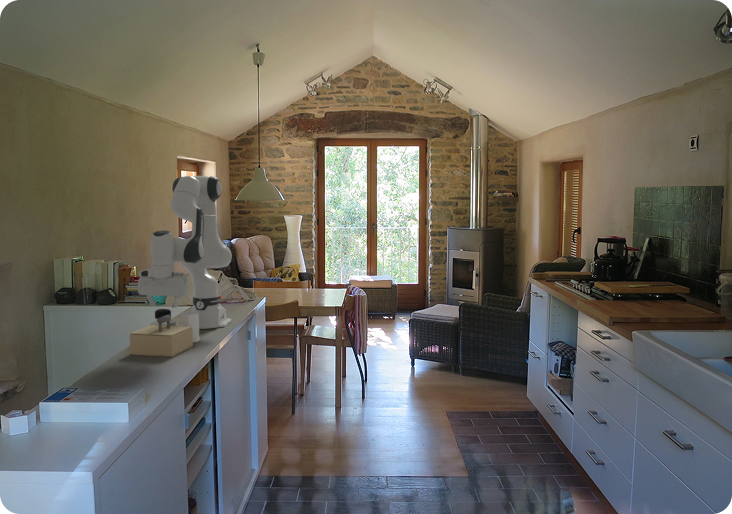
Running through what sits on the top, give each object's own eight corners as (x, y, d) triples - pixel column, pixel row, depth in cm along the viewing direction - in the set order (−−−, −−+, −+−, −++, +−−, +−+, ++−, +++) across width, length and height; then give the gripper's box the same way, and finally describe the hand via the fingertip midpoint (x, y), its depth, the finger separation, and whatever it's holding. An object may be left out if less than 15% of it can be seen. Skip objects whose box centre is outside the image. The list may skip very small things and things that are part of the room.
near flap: (171, 326, 238) (171, 312, 237) (191, 327, 236) (190, 313, 235) (151, 334, 223) (150, 319, 222) (171, 336, 221) (171, 320, 221)
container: (167, 341, 246) (166, 311, 245) (150, 340, 247) (149, 310, 246) (176, 337, 253) (175, 308, 252) (160, 336, 255) (159, 307, 254)
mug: (198, 344, 241) (197, 316, 240) (176, 345, 239) (175, 316, 238) (200, 338, 253) (200, 310, 251) (180, 338, 251) (179, 311, 250)
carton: (153, 344, 241) (152, 324, 240) (192, 346, 237) (192, 326, 236) (130, 354, 225) (129, 332, 224) (172, 357, 221) (172, 335, 221)
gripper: (191, 272, 229) (191, 306, 230) (144, 270, 233) (145, 304, 234) (183, 273, 223) (183, 309, 224) (135, 272, 227) (135, 307, 228)
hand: (163, 306), depth 229 cm, fingers open, 8 cm apart
